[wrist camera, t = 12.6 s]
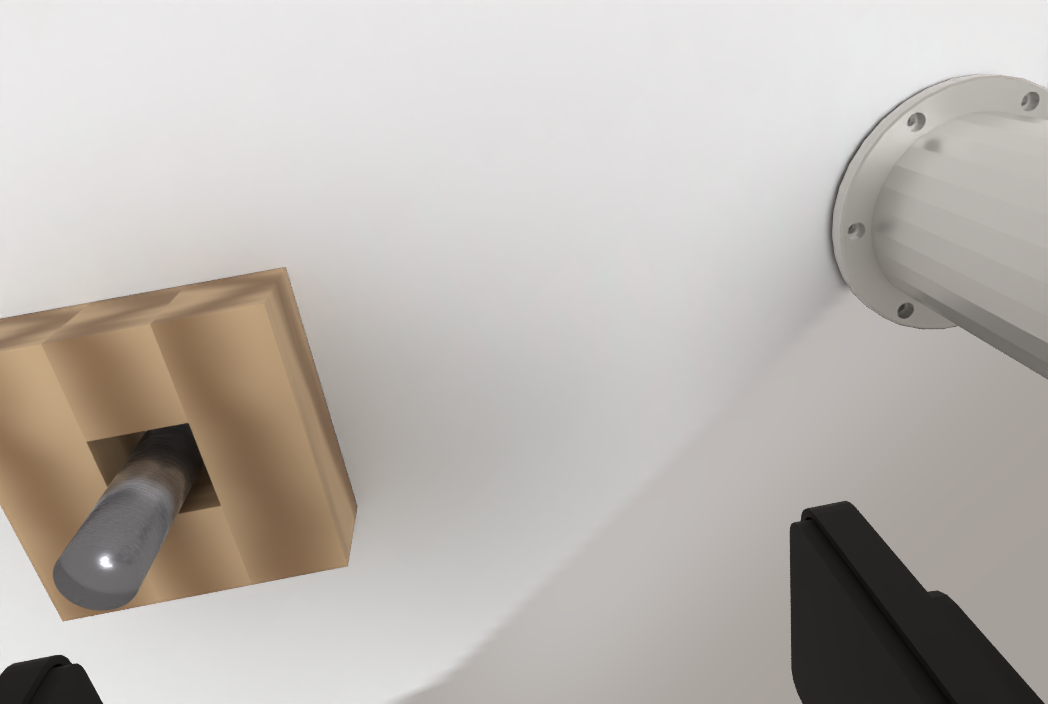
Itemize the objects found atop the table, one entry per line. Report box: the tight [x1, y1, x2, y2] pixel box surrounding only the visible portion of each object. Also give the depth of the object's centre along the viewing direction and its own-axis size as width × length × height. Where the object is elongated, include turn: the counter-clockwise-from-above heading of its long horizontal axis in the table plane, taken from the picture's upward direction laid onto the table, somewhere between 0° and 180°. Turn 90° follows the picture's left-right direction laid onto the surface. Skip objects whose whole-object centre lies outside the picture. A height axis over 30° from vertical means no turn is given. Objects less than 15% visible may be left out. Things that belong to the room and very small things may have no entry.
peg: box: [53, 423, 204, 611], centre depth 34 cm, size 3×3×12 cm
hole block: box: [0, 267, 357, 621], centre depth 37 cm, size 14×14×5 cm
